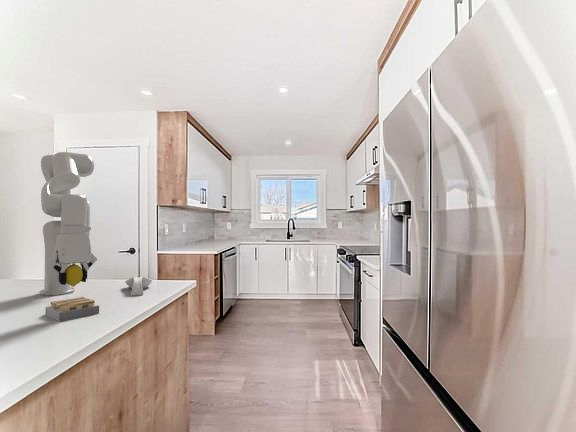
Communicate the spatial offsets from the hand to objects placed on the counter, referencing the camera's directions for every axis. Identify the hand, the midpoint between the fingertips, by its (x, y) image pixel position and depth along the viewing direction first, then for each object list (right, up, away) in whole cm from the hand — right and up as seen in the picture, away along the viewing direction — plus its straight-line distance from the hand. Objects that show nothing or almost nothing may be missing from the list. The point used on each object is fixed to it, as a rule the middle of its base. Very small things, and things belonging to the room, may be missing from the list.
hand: (73, 282), depth 116 cm
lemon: (0, -2, 0) cm, 2 cm away
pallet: (0, -8, 0) cm, 8 cm away
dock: (0, -11, 0) cm, 11 cm away
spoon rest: (+5, -12, +39) cm, 41 cm away
